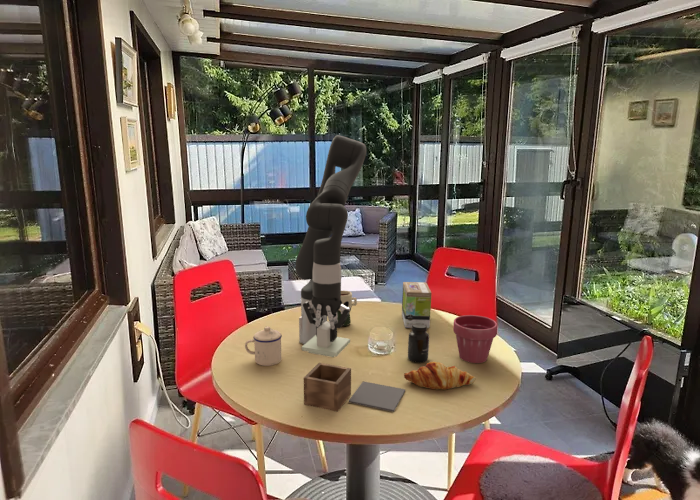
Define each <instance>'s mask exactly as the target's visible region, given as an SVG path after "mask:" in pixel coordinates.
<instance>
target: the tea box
mask: <svg viewBox="0 0 700 500" xmlns="http://www.w3.org/2000/svg"><path fill="white" fill-rule="evenodd" d="M431 308H432V291H431V289H430V287H429V285H428V283H427V282H425V281H424V282H417V281H415V282H414V281H403V282H402V303H401V317H402V321H403V325H404V328H406V329H408V328H409V329H412V324H414V323H424V324H426V325H427V329H430V324H431V310H432V309H431Z"/></svg>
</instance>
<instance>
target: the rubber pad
mask: <svg viewBox="0 0 700 500" xmlns="http://www.w3.org/2000/svg"><path fill="white" fill-rule="evenodd" d="M405 392H406V388H401V387H395V386H390V385H385V384H380V383H374V382H370V381H362V382H360V385H359V386H358V387H357V388H356V390H355V391H354V393H353V394H351V397H349V398H348V403H349V404H354V405H358V406H363V407H369V408H372V409H378V410H383V411H387V412H391V413H394V412H395V411H396V409H397V407H398V406H399V403H400V402H401V400H402V398H403V396H404V394H405Z"/></svg>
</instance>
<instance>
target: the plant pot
mask: <svg viewBox="0 0 700 500" xmlns="http://www.w3.org/2000/svg"><path fill="white" fill-rule="evenodd" d="M452 329H453V333H454V334H455V337H456V344H457V348H458V349H457V350H458V355H459V358H460V359H461V360H462V361H464V362H466V363H471V364H482V363H485V362H487V360H488V357H489V354H490V351H491V348H492V345H493V341H494V339H495V338H496V337H497V334H498V323H497V322H496V321H495V320H494V319H493V318H489V317H488V316H485V315H484V316H482V315H474V314H467V315H466V314H465V315H460V316H457V317H456V318H454V319H453V327H452Z"/></svg>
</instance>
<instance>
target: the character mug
mask: <svg viewBox="0 0 700 500" xmlns="http://www.w3.org/2000/svg"><path fill="white" fill-rule="evenodd" d="M357 300H358V299H357V297H353V293H352V291H349V290H341V301H342V304H343V305H344V306H346V307H351V308H352V307H353V306H354V307H356V306H357V304H358V303H357V302H358V301H357ZM350 313H351V312H350ZM350 313H349V315H348V317H347V319H346V321H345V323H344V325H343V326H342V327H344V326H350V325H351V321H352V320H351V314H350ZM337 315H338V318H337V320H338V322H339V319H340V317H341V315H342V314H341V309H339V310H338V311H337Z"/></svg>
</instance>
